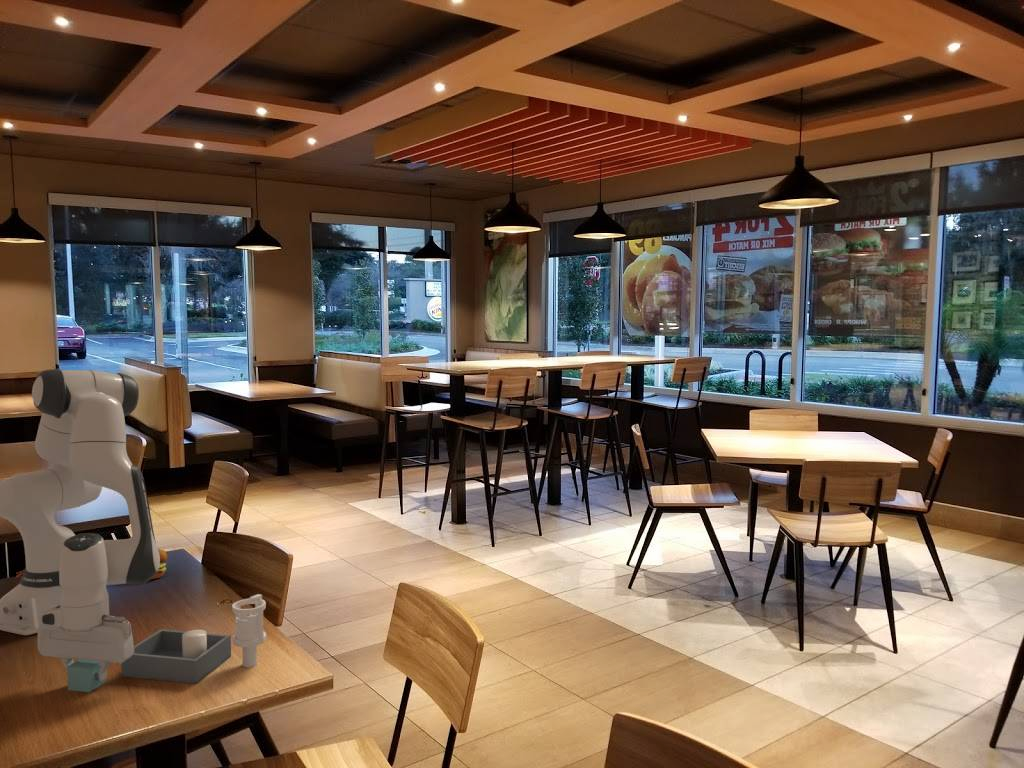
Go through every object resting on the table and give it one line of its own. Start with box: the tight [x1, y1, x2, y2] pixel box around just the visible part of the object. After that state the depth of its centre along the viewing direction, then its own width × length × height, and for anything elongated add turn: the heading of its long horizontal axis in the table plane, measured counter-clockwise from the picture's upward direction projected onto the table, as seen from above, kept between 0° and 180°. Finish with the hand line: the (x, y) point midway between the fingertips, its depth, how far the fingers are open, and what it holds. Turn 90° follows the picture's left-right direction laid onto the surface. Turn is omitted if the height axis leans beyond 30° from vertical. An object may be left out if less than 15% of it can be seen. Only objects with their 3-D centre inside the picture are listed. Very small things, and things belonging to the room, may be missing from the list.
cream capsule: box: [182, 629, 208, 659], centre depth 170 cm, size 5×5×7 cm
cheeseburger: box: [151, 548, 170, 580], centre depth 230 cm, size 10×11×10 cm
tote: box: [121, 628, 232, 684], centre depth 170 cm, size 18×14×5 cm
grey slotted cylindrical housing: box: [231, 593, 267, 668], centre depth 171 cm, size 7×7×15 cm
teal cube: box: [66, 659, 107, 693], centre depth 161 cm, size 5×5×5 cm
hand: (87, 678), depth 161 cm, fingers closed on teal cube, 5 cm apart
